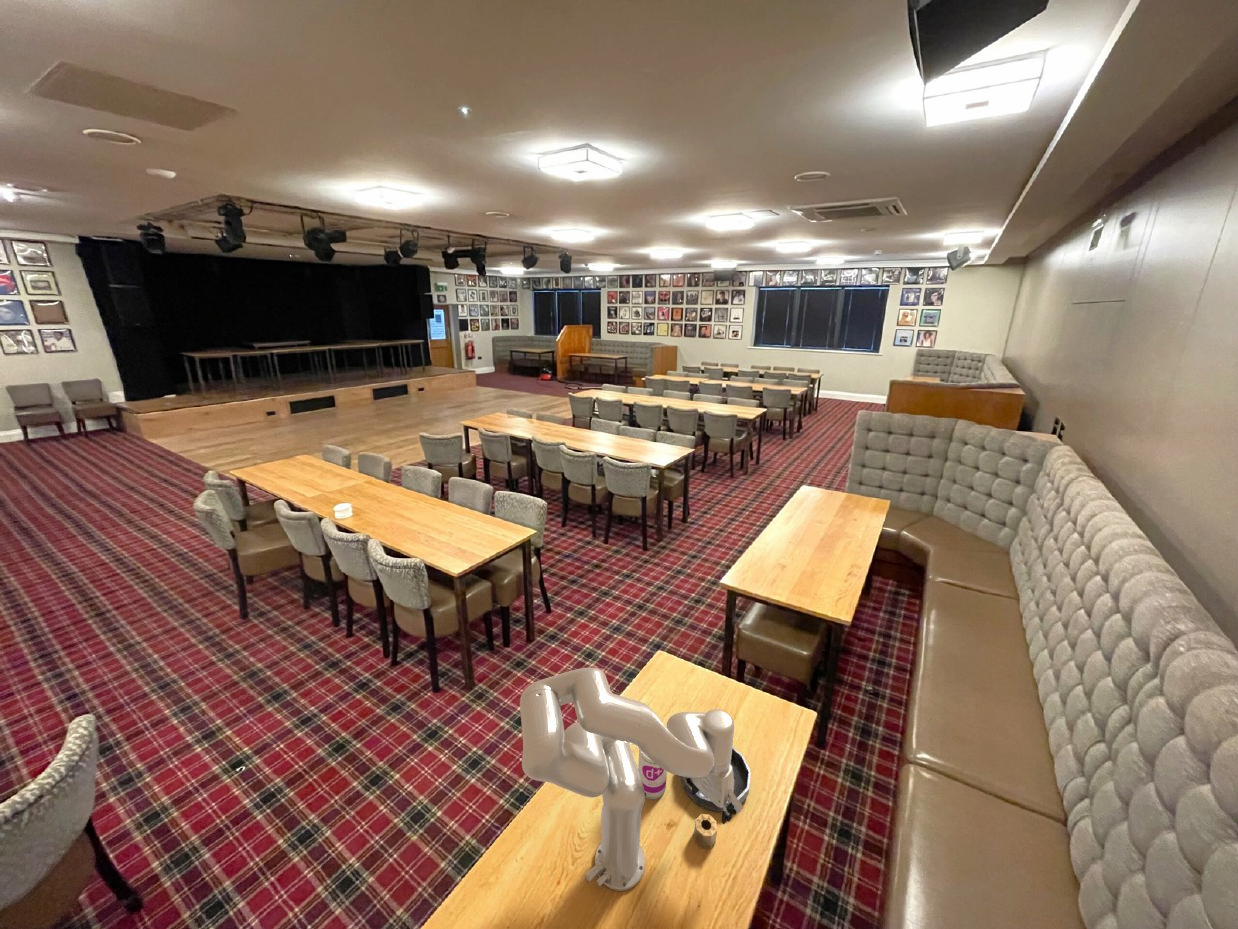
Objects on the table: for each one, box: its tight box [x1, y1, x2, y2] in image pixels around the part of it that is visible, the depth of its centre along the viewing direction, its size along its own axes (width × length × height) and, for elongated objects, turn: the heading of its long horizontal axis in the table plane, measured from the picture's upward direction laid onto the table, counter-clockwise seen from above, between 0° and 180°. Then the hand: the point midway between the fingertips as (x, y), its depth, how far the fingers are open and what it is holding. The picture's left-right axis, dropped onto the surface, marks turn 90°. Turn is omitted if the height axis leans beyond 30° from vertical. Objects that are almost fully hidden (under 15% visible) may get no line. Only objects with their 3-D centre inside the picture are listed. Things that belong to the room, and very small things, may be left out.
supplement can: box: [637, 749, 668, 800], centre depth 140 cm, size 8×8×15 cm
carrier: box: [679, 746, 752, 813], centre depth 145 cm, size 20×20×6 cm
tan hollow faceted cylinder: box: [693, 813, 718, 850], centre depth 129 cm, size 5×5×5 cm
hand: (710, 804), depth 126 cm, fingers open, 9 cm apart
